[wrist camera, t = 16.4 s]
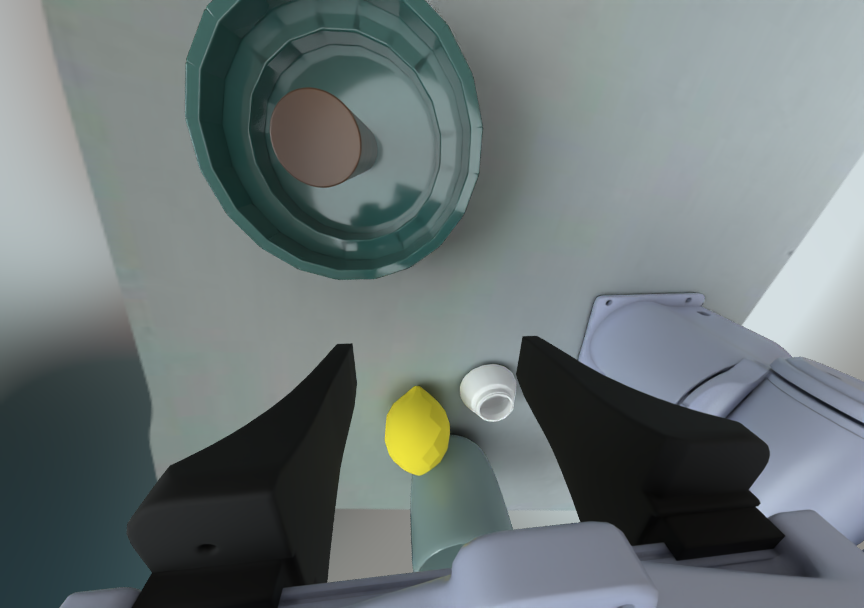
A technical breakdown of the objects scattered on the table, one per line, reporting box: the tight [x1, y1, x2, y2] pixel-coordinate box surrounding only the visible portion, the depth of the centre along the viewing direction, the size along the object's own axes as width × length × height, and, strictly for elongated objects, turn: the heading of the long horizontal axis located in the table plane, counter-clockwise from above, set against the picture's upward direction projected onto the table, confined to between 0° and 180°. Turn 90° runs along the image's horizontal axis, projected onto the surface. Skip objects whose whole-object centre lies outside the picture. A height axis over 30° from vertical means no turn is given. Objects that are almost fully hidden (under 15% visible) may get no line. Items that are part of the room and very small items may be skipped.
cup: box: [410, 435, 513, 572], centre depth 26 cm, size 8×8×10 cm
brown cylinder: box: [270, 87, 377, 188], centre depth 14 cm, size 3×3×9 cm
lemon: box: [385, 386, 450, 476], centre depth 25 cm, size 7×5×5 cm
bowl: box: [185, 0, 483, 280], centre depth 16 cm, size 13×13×4 cm
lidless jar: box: [460, 364, 517, 422], centre depth 26 cm, size 5×3×5 cm
